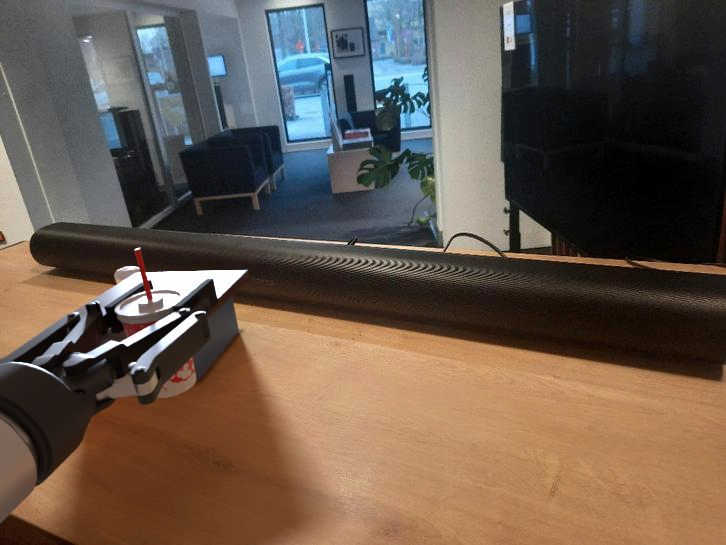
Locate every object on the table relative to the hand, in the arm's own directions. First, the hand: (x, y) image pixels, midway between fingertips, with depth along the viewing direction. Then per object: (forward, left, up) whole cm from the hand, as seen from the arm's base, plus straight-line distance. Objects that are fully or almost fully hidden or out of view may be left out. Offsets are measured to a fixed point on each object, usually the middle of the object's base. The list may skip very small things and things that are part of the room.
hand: (181, 291), depth 50 cm
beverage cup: (0, -5, -8) cm, 9 cm away
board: (-15, +17, -9) cm, 24 cm away
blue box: (-15, +17, -17) cm, 28 cm away
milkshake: (-29, +31, -18) cm, 46 cm away
